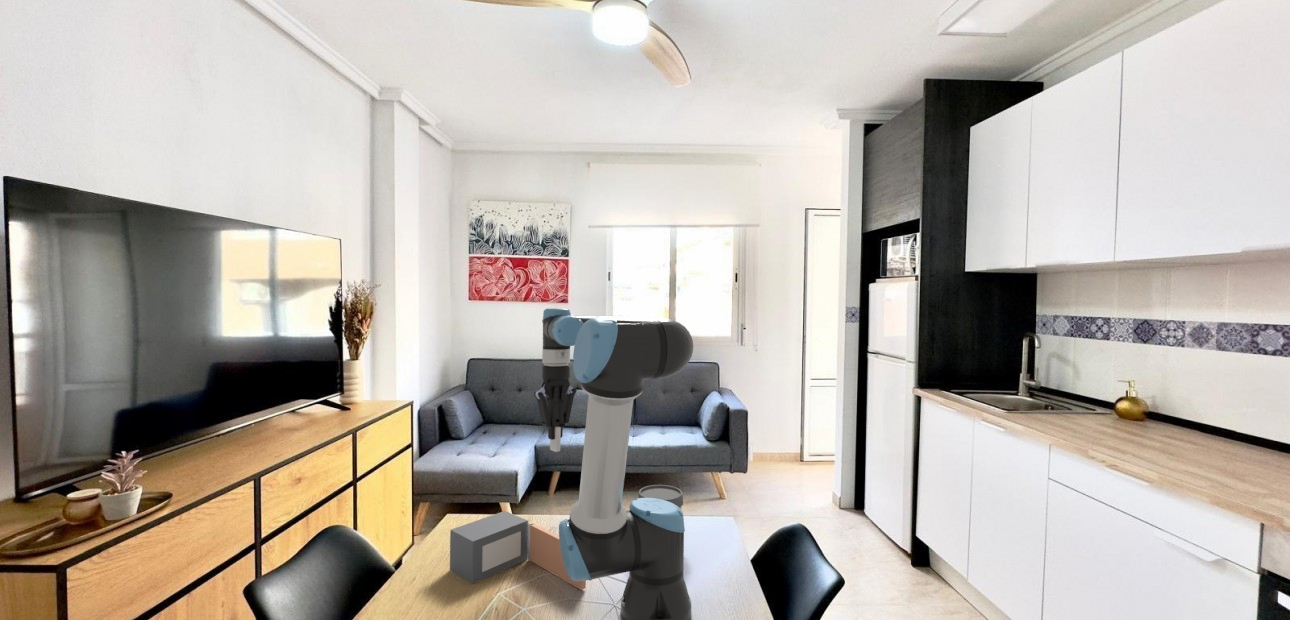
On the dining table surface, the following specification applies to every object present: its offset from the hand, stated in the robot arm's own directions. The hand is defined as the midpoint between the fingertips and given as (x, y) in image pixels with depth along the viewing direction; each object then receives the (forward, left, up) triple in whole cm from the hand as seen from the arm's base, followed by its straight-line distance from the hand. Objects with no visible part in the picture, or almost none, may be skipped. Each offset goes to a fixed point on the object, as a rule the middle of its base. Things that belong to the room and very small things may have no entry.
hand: (555, 450), depth 139 cm
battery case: (+5, +17, -26) cm, 32 cm away
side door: (-11, +10, -26) cm, 30 cm away
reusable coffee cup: (-22, -19, -27) cm, 39 cm away
